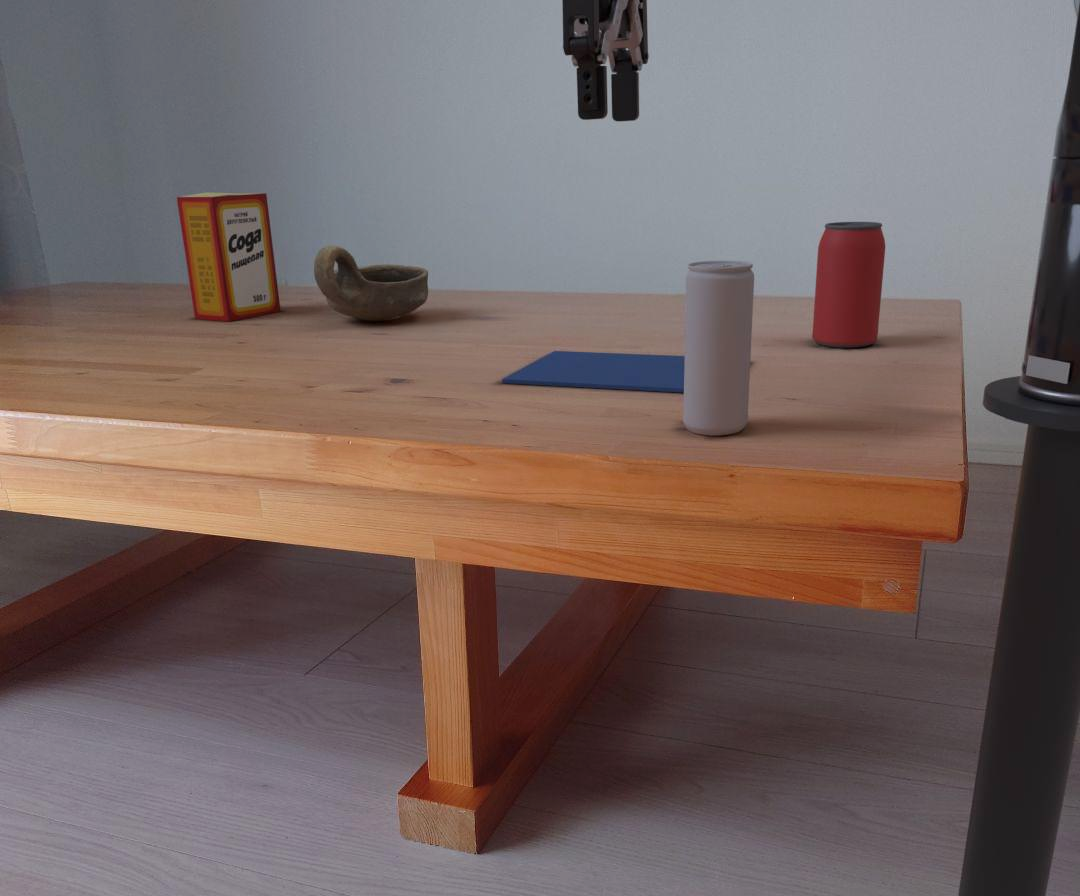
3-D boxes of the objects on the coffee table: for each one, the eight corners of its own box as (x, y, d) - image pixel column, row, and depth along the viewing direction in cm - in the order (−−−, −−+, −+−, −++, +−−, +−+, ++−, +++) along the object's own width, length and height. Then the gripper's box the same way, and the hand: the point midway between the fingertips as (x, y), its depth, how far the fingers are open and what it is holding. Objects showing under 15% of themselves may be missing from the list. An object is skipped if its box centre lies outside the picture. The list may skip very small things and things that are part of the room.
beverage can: (760, 427, 76) (768, 262, 71) (721, 440, 72) (727, 269, 68) (708, 417, 79) (713, 259, 74) (669, 429, 76) (671, 265, 71)
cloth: (747, 362, 98) (747, 358, 98) (718, 394, 86) (718, 390, 86) (554, 354, 105) (554, 350, 105) (502, 383, 93) (501, 379, 93)
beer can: (882, 339, 107) (893, 221, 103) (870, 350, 101) (881, 226, 97) (819, 336, 110) (827, 221, 105) (805, 347, 104) (812, 226, 100)
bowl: (454, 314, 133) (449, 235, 129) (367, 336, 119) (359, 248, 115) (373, 309, 140) (367, 234, 136) (283, 329, 126) (272, 246, 122)
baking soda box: (247, 308, 144) (231, 190, 138) (280, 311, 141) (265, 190, 135) (195, 318, 137) (176, 194, 131) (228, 321, 133) (210, 194, 128)
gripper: (624, -141, 69) (628, 116, 75) (677, -99, 81) (677, 118, 87) (523, -124, 72) (534, 122, 77) (589, -87, 84) (594, 124, 90)
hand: (610, 120), depth 82 cm, fingers open, 8 cm apart
